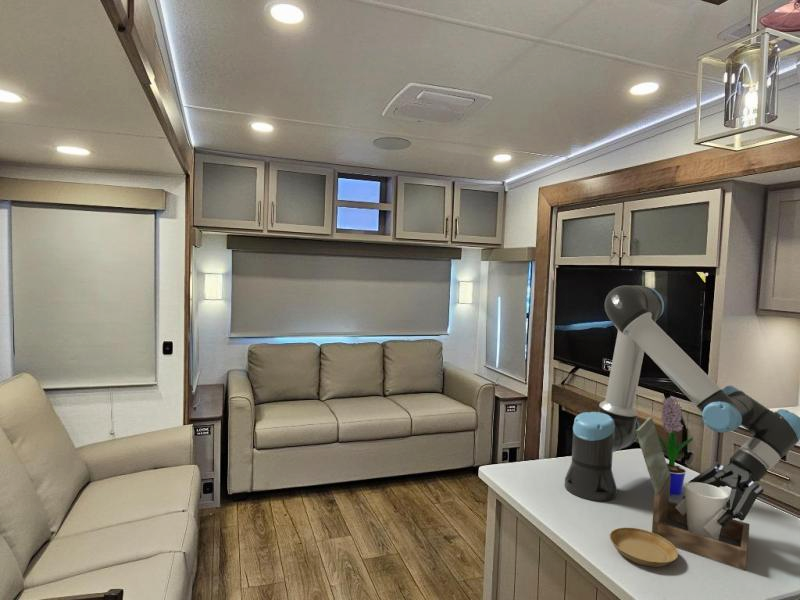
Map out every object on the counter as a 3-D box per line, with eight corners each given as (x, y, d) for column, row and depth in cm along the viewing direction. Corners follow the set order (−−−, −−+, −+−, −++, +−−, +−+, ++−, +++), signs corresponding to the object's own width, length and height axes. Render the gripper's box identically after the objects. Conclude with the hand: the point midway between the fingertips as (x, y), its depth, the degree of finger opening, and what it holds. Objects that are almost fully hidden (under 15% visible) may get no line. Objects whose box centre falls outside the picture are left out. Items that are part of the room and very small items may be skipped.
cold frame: (629, 531, 124) (635, 429, 123) (642, 509, 137) (648, 416, 136) (745, 570, 109) (753, 454, 108) (748, 541, 122) (756, 437, 121)
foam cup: (710, 553, 116) (714, 501, 115) (673, 534, 124) (677, 485, 123) (732, 544, 120) (736, 494, 119) (695, 526, 128) (698, 479, 128)
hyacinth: (695, 499, 145) (702, 402, 144) (659, 494, 147) (665, 399, 146) (684, 486, 154) (691, 395, 152) (650, 482, 156) (656, 392, 154)
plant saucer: (692, 567, 110) (693, 556, 110) (641, 577, 106) (641, 565, 106) (643, 534, 124) (643, 524, 124) (595, 541, 120) (596, 531, 120)
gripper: (802, 489, 112) (736, 556, 111) (727, 453, 134) (672, 509, 133) (784, 467, 111) (717, 535, 110) (712, 435, 133) (655, 491, 132)
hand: (692, 521), depth 121 cm, fingers closed on foam cup, 9 cm apart
